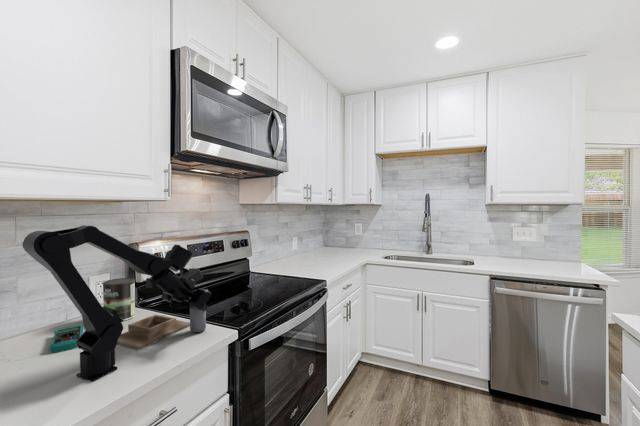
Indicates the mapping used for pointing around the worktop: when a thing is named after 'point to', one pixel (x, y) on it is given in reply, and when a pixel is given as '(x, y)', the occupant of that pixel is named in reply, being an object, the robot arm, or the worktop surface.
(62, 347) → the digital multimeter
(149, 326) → the dock
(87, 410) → the worktop surface
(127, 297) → the coffee can
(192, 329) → the grey upright cylinder
